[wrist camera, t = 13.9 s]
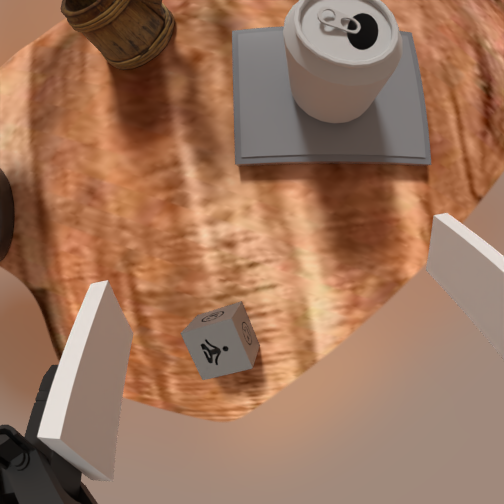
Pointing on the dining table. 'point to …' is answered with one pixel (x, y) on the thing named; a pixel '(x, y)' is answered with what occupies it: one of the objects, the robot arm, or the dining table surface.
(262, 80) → the slate board
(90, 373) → the robot arm
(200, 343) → the dice cube
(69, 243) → the dining table surface
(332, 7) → the can
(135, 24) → the wooden mug
